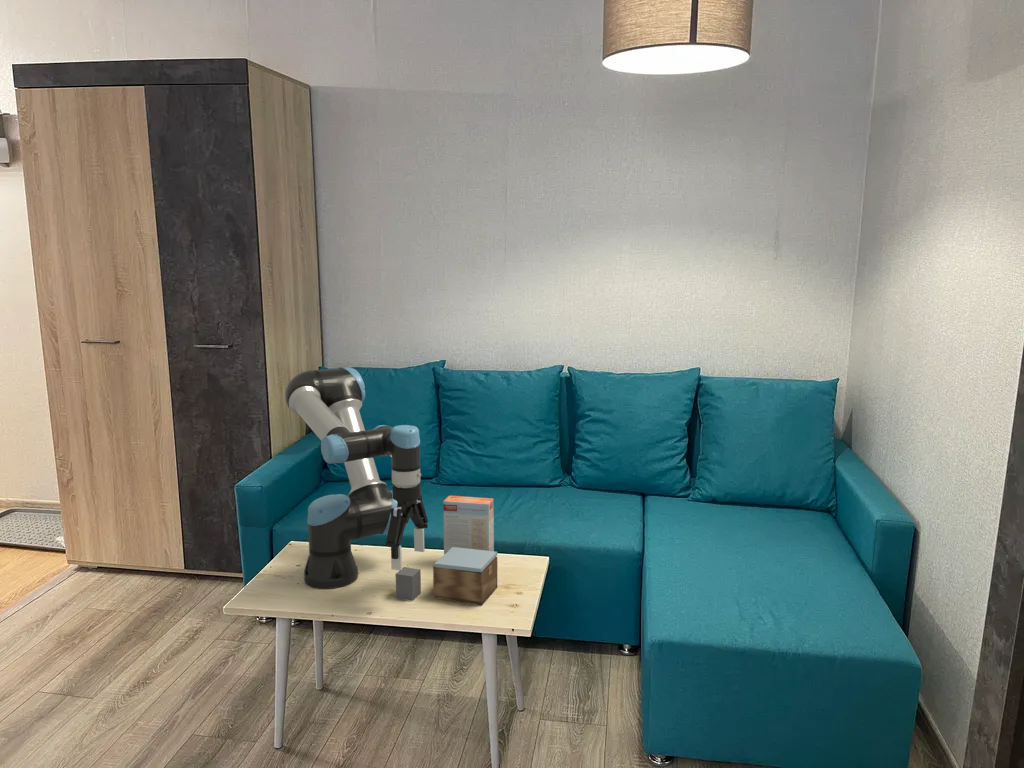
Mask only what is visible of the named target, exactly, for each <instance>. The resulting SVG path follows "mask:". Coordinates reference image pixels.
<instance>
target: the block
mask: <svg viewBox="0 0 1024 768" xmlns="http://www.w3.org/2000/svg"><path fill="white" fill-rule="evenodd" d="M421 574H422V573H421V569H420V568H414V567H408V566H407V567H406V566H402V570H401V571H400V570H397V572H396V573H395V599H398V600H406V601H412V602H413V601H415V600H416V599H417V598H418V596H420V595H421V593H422V585H421V584H422V583H421V582H422V581H421Z"/></svg>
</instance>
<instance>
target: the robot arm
mask: <svg viewBox="0 0 1024 768" xmlns="http://www.w3.org/2000/svg"><path fill="white" fill-rule="evenodd" d="M365 388H366V387H365V383H364V380H363V378H362V376H361V374H360V373H359V371H358V370H357V369H355V368H353V367H337V368H325V369H315V370H312V369H311V370H305V371H302V372H300V373H298V374H296V375H295V376H294V377H293V378H292V379H290V381H289V383H288V384H287V386H286V389H285V393H284V398H285V404H286V405H287V407H288V408H289V409H290V411H291V412H292V413H293V414H294V415H296V416H299V417H301V419H302V420H303V421H304V422H305V423H306V424H307V426H308V427H309V428H310V429H311V431H312V432H313V433H314V434H315V435H316V437H317V438H318V439H319V440H320V441H321V442H320V452H321V455H322V458H323V460H324V462H325V463H327V464H329V465H330V464H343V463H344V466H345V470H346V474H347V477H348V478H347V479H348V481H349V485H350V489H351V490H350V491H349V493H348V495H346V494H342V493H337V494H328V495H324V496H320V497H319V498H316V499H314V500H313V501H312V502H311V503H310V504H309V506H308V508H307V519H306V523H307V532H308V533H307V535H308V551H309V552H308V557H307V560H306V564H305V566H304V567H305V568H304V571H303V582H304V583H305V584H306V585H307V586H309V587H310V588H315V589H324V590H326V589H328V590H329V589H337V588H341V587H345V586H347V585H350V584H352V583H354V582H355V581H357V579H358V578H359V568H358V565H357V563H356V560H355V557H354V555H353V552H352V541H353V540H357V539H363V538H366V537H372V536H375V535H383V534H385V533H387V535H386V542H385V547H389V548H390V561H391V562H390V565H391V570H394V571H401V570H402V568H403V553H402V552H403V551H402V545H401V542H402V539H403V534H404V532H405V528H406V524H408V523H409V521H410V520H411V522H412V523H413V524H414V526H415V527H414V528H413V541H414V542H413V545H414V552H419V553H424V552H425V529H427V528H428V522H429V520H428V516H427V513H426V509H425V506H424V503H423V495H422V490H421V489H422V488H421V487H422V486H421V484H420V483H421V476H422V473H421V439H420V429H419V428H418V427H417V426H416V425H411V424H410V425H409V424H401V425H400V424H399V425H395V426H390V425H386V424H381V425H377V426H375V427H373V429H367V430H366V429H365V426H364V422H363V420H362V415H361V412H360V410H361V408H363V407H362V406H363V402H364V401H365V399H366V390H365ZM385 456H386V457H389V458H390V459H391V483H392V484H393V485H392V486H391V487H392V488H391V489H392V490H389V488H388V485H387V483H386V482H384V481H382V480H381V479H380V476H379V473H378V469H377V466H376V463H375V459H374V458H379V457H385Z"/></svg>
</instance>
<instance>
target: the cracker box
mask: <svg viewBox="0 0 1024 768" xmlns="http://www.w3.org/2000/svg"><path fill="white" fill-rule="evenodd" d="M442 502H443V505H442V507H443V508H442V509H443V511H442V512H443V514H442V515H443V519H442V520H443V521H442V522H443V555H445V554H446V553H447V552H448V551H449V550H450V549H451V548H452V547H457V548H466V549H476V550H485V551H495V547H494V546H495V534H494V533H495V532H494V531H495V529H494V527H495V526H494V521H495V520H494V516H495V515H494V511H495V509H494V508H495V507H494V498H489V497H476V496H475V497H474V496H462V495H461V496H460V495H448V496H447V497H446V498H445V499H444V500H443V501H442Z"/></svg>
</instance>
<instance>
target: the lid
mask: <svg viewBox="0 0 1024 768" xmlns="http://www.w3.org/2000/svg"><path fill="white" fill-rule="evenodd" d="M495 557H498V551H495V550H494V551H485V550H476V549H466V548H457V547H452V548H451V549H450V550H449V551H448V552H447V553H446V554H445V555H444V554H443V555H441V557H440V558H439V559H438V560H437V561H436V562H434V565H435V567H439V568H447V569H456V570H465V571H473V572H482V571H483V570H484V569H485V568H486V567H487V566H488V565H489V564H490V562H491V561H492V560H493V559H494V558H495ZM434 565H433V566H434Z"/></svg>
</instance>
